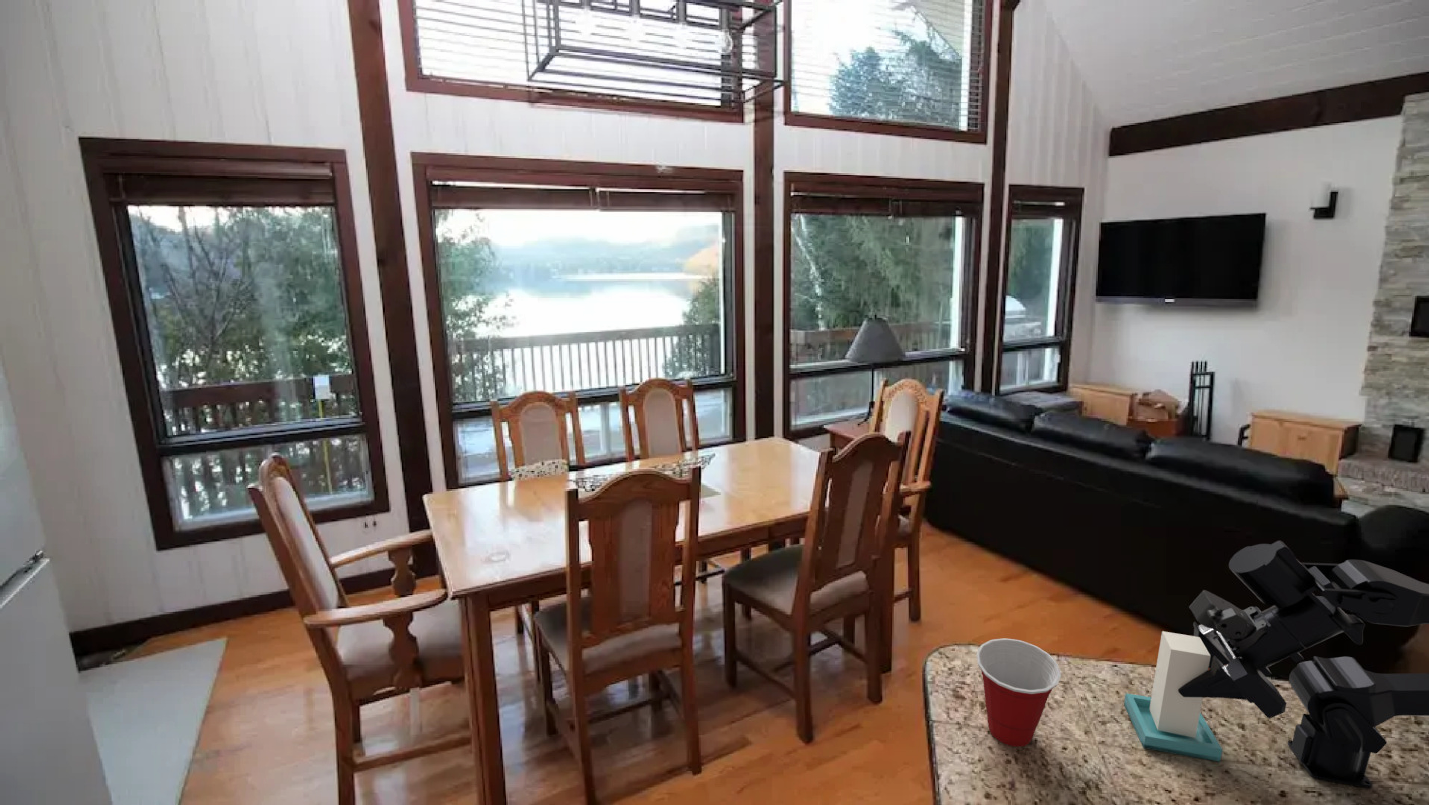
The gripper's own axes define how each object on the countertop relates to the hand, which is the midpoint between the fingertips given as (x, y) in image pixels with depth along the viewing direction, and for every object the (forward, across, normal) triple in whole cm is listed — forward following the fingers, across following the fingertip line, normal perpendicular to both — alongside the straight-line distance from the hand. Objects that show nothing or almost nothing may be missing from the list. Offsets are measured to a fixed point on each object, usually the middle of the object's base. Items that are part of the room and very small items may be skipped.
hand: (1175, 682), depth 92 cm
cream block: (+4, 0, +5) cm, 7 cm away
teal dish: (+6, 0, +6) cm, 8 cm away
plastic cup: (+21, +8, -9) cm, 24 cm away
